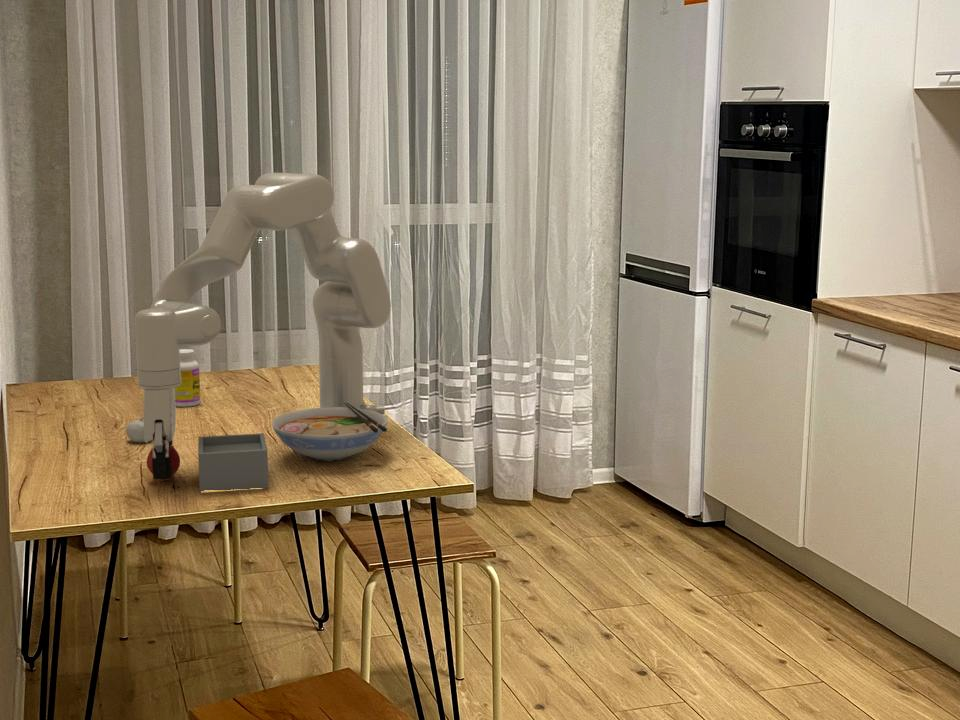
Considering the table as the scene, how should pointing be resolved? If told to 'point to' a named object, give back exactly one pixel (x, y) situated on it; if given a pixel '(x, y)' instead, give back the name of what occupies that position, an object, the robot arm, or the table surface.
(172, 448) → the onion
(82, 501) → the table surface
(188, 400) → the supplement bottle
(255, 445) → the grey hollow box
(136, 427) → the garlic
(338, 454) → the ramen bowl
